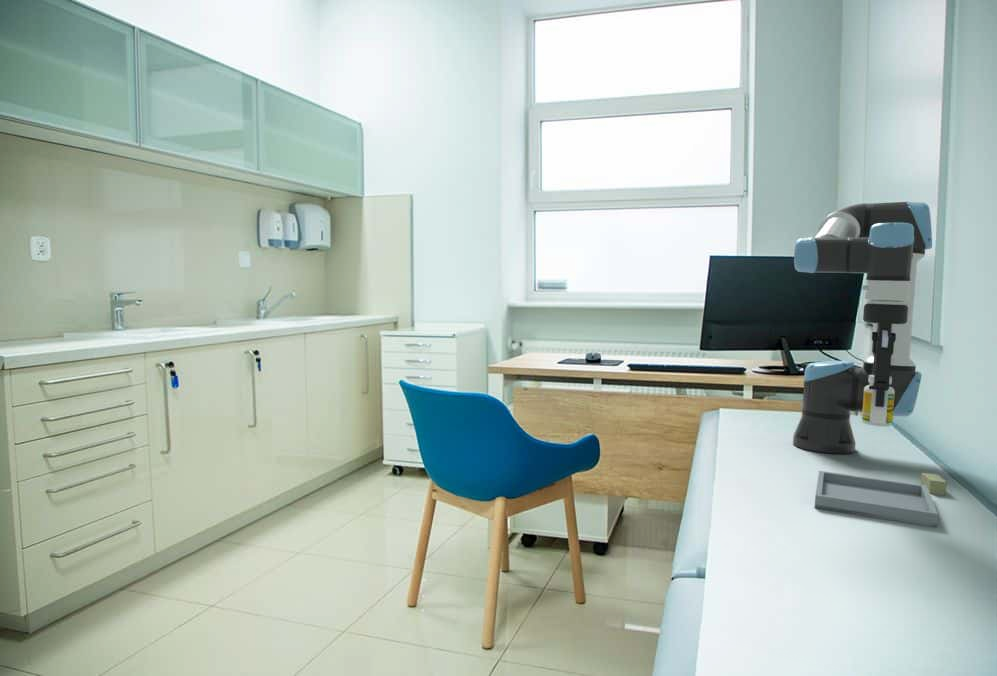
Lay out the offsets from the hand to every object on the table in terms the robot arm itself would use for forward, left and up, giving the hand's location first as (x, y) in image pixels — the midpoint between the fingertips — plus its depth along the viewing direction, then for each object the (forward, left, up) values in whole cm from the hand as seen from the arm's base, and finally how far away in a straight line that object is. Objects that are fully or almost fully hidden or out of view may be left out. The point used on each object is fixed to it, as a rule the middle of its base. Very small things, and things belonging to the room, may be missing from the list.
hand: (877, 419), depth 133 cm
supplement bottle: (0, 0, -1) cm, 1 cm away
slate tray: (0, 0, -17) cm, 17 cm away
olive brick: (-17, +12, -17) cm, 27 cm away
